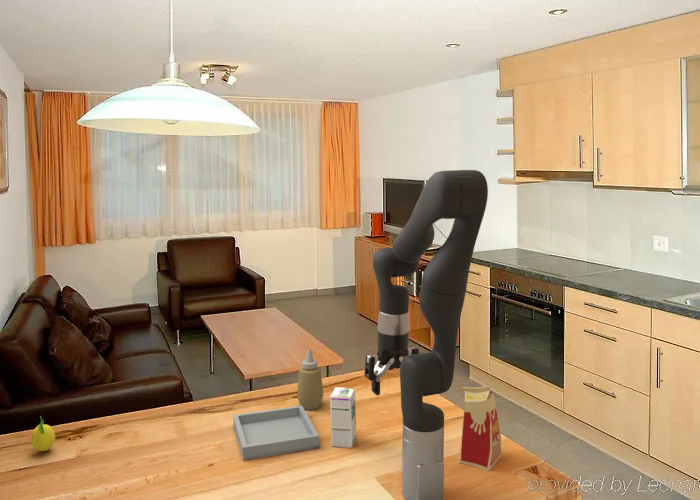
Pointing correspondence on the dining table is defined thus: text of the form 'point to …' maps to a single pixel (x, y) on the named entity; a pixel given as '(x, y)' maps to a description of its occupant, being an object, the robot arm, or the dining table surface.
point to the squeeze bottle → (310, 384)
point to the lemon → (42, 437)
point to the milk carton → (480, 429)
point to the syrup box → (343, 417)
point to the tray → (274, 432)
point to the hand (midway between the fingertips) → (391, 390)
